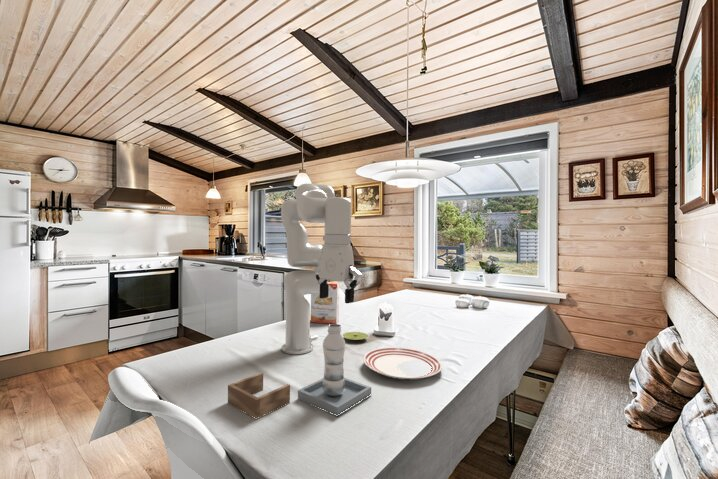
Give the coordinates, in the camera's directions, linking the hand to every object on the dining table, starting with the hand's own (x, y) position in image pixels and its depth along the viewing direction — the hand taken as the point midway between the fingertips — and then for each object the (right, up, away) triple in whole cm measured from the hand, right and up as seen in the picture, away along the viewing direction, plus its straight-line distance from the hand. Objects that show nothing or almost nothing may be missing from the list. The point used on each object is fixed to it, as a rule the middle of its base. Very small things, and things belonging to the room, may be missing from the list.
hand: (336, 300), depth 100 cm
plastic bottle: (-1, -28, +1) cm, 28 cm away
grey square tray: (0, -28, +1) cm, 28 cm away
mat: (+5, -27, +53) cm, 60 cm away
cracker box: (-11, -26, +81) cm, 86 cm away
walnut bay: (-21, -28, -4) cm, 35 cm away
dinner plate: (+22, -29, +23) cm, 42 cm away
